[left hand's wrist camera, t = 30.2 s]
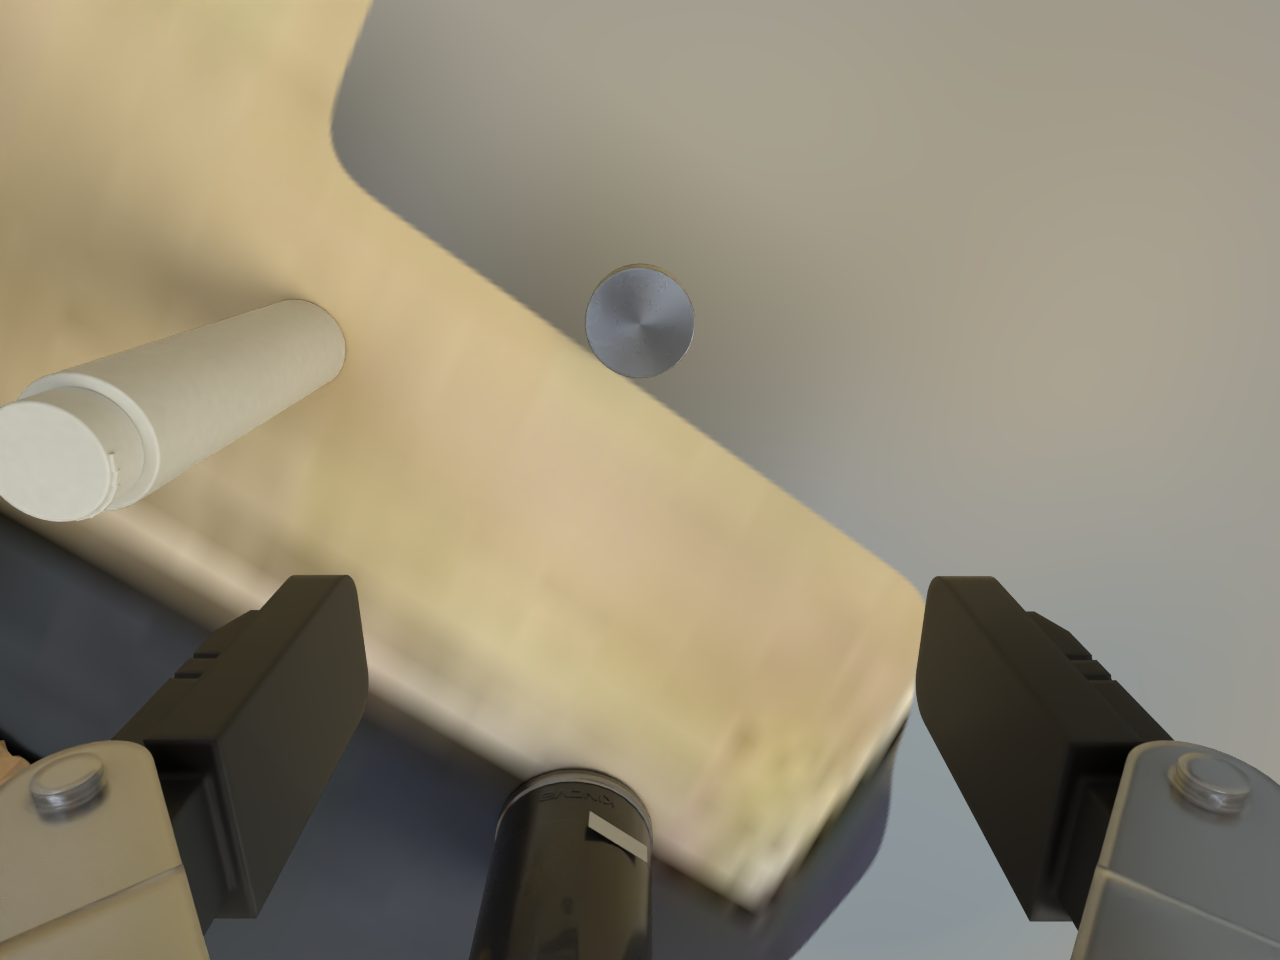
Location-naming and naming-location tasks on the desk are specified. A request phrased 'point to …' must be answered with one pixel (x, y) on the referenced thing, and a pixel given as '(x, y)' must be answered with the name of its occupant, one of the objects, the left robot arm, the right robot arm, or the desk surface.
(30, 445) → the beige tapered cylinder
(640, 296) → the lid
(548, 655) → the desk surface
